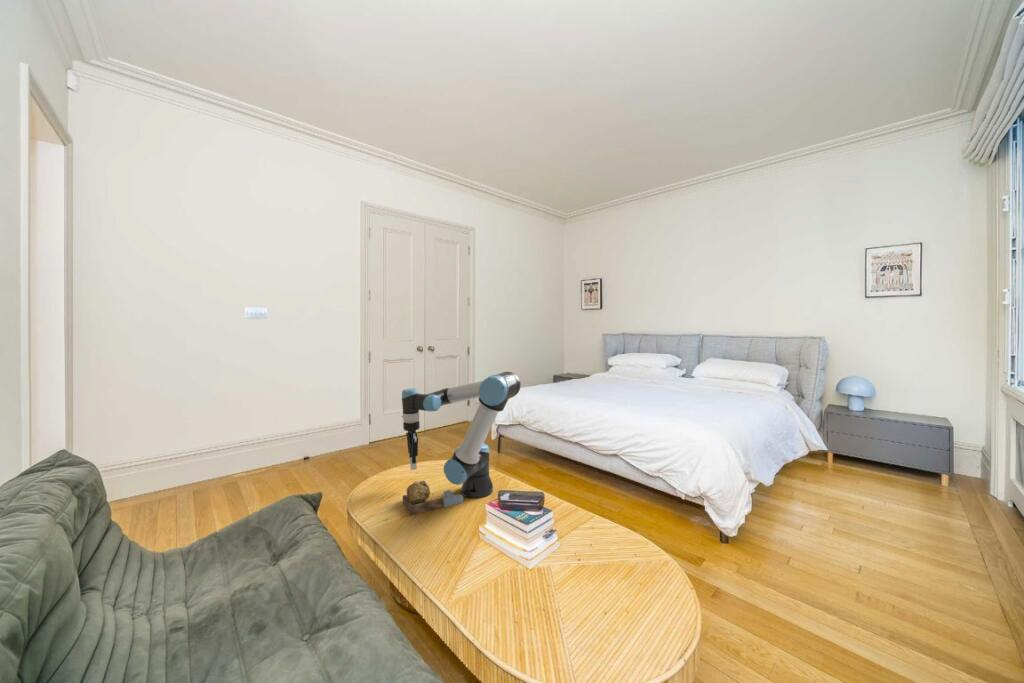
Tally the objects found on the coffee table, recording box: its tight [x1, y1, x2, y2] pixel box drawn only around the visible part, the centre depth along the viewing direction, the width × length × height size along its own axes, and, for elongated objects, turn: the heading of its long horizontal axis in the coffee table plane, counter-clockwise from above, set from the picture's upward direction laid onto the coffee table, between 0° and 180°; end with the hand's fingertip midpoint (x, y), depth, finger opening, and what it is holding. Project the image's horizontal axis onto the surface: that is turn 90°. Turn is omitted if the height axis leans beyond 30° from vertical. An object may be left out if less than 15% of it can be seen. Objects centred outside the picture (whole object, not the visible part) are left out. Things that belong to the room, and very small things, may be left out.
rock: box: [406, 480, 431, 505], centre depth 178 cm, size 12×10×10 cm
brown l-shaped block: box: [402, 494, 444, 516], centre depth 176 cm, size 15×12×4 cm
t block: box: [442, 489, 464, 508], centre depth 180 cm, size 9×9×3 cm
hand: (413, 469), depth 189 cm, fingers closed
